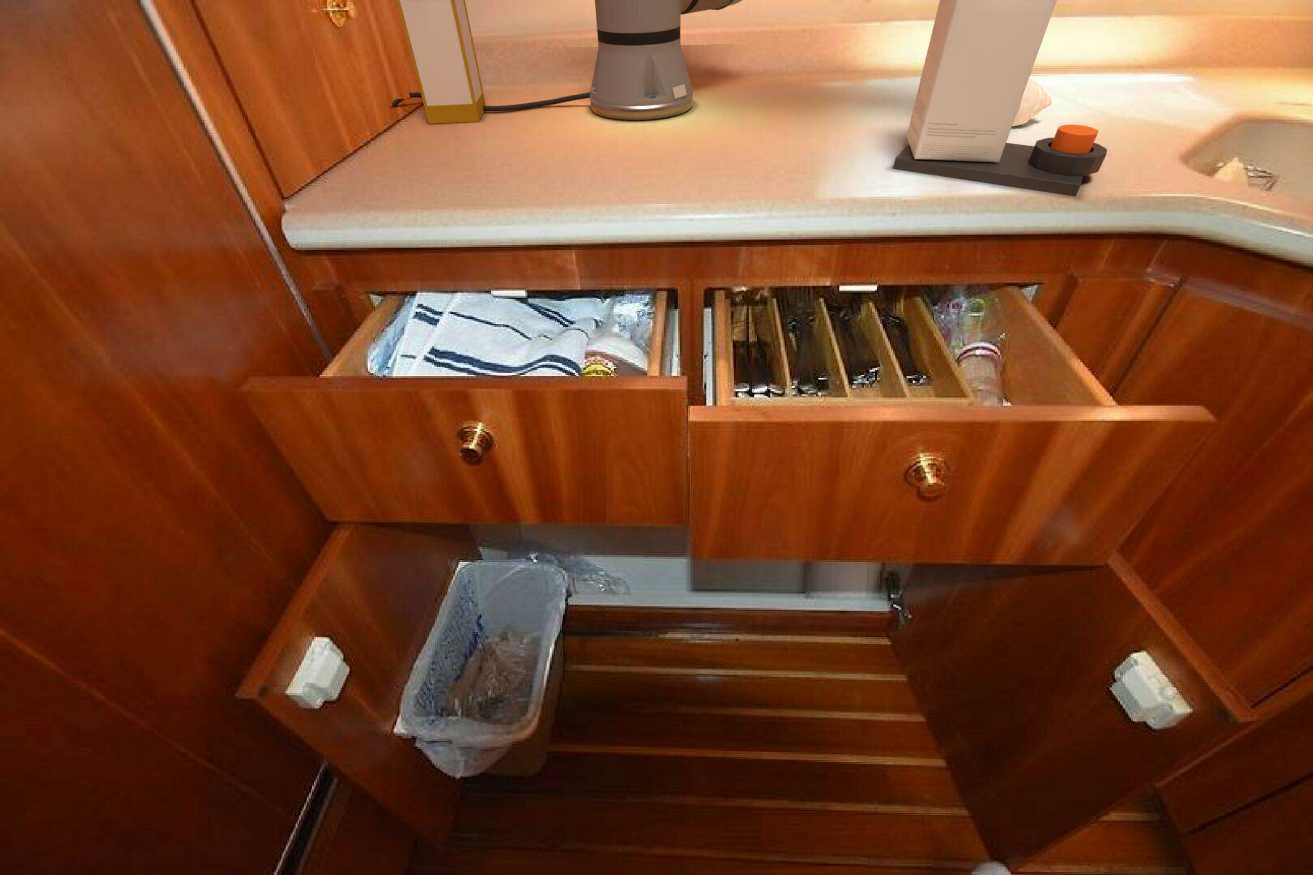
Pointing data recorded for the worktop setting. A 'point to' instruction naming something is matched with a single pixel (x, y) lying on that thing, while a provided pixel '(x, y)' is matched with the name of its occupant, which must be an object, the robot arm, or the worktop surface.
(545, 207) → the worktop surface
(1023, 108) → the garlic bulb
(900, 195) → the worktop surface
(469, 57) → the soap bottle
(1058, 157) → the base
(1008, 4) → the rectangular carton
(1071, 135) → the switch
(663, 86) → the robot arm
